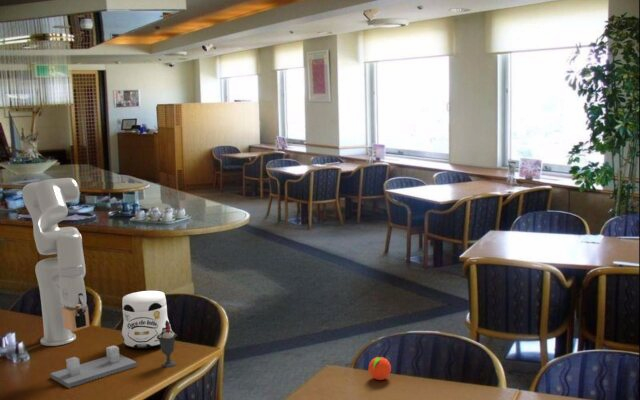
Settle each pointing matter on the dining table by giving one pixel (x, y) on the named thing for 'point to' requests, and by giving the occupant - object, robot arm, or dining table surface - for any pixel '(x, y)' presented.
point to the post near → (73, 366)
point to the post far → (113, 354)
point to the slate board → (93, 371)
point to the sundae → (167, 344)
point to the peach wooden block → (72, 318)
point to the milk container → (144, 318)
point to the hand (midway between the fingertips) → (76, 324)
